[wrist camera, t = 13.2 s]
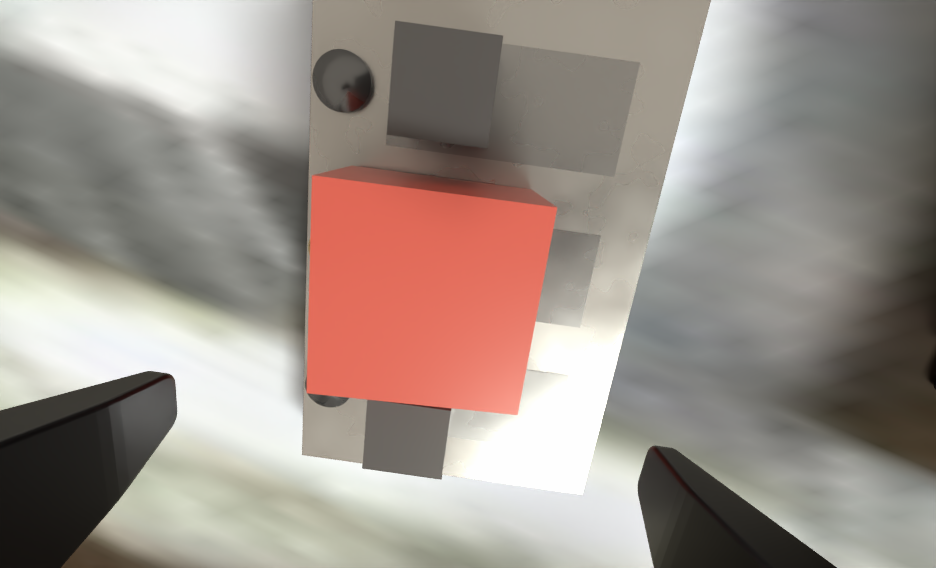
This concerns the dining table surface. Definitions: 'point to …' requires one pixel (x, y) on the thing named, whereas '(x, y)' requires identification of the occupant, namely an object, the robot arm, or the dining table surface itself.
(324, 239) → the cap
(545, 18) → the panel
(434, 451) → the block
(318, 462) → the dining table surface
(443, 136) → the block
